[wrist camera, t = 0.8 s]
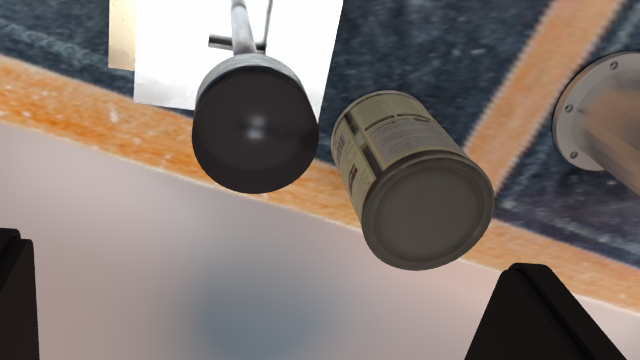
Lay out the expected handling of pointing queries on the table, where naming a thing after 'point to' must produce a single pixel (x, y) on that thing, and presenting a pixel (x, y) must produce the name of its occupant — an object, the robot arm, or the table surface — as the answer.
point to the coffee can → (409, 182)
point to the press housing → (214, 45)
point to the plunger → (251, 108)
